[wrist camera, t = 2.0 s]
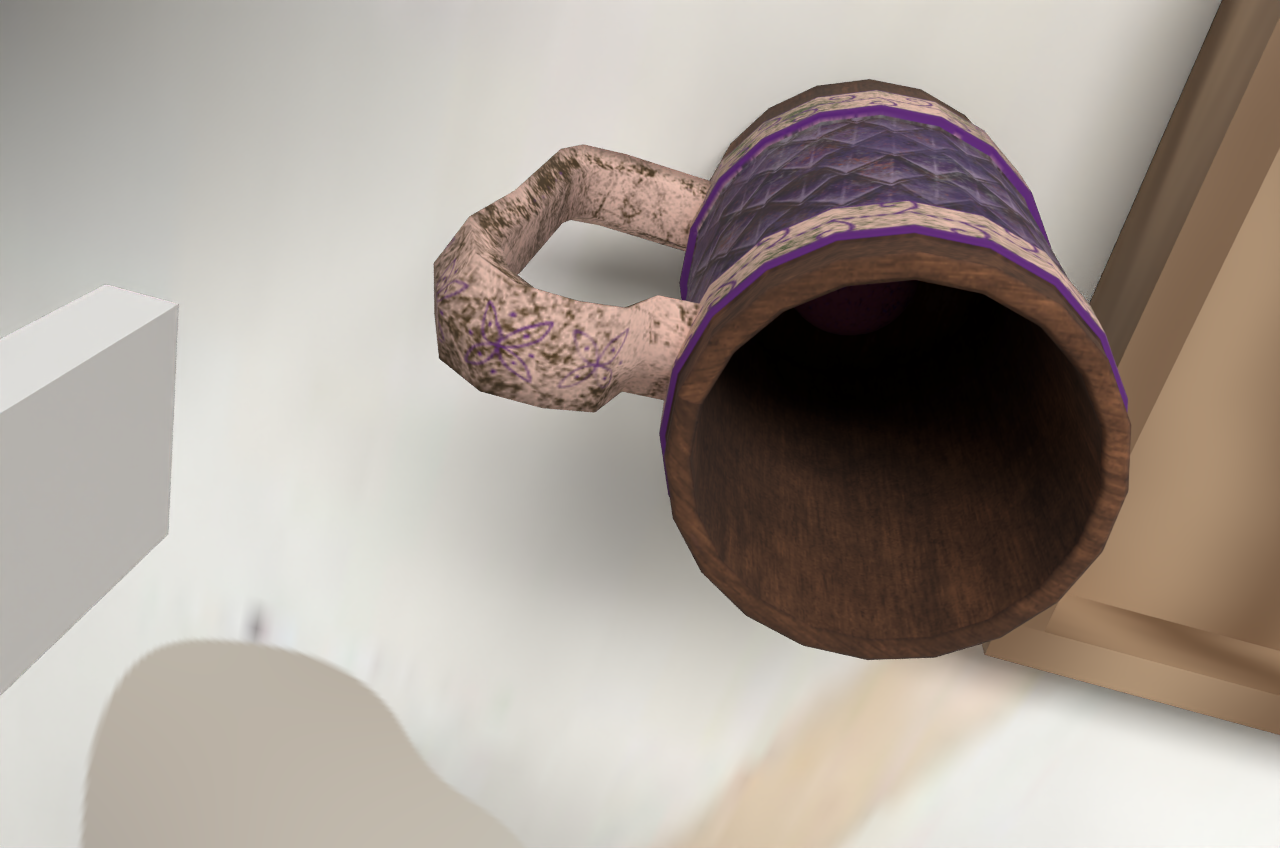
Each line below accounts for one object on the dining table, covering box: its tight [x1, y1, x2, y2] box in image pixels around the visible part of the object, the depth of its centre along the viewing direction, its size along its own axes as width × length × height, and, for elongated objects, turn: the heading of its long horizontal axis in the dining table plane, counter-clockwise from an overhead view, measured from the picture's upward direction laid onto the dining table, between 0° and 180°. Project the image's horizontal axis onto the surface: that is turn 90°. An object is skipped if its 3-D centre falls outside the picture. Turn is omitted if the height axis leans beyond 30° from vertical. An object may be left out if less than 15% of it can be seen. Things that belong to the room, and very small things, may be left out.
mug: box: [434, 79, 1131, 660], centre depth 19 cm, size 10×7×12 cm
